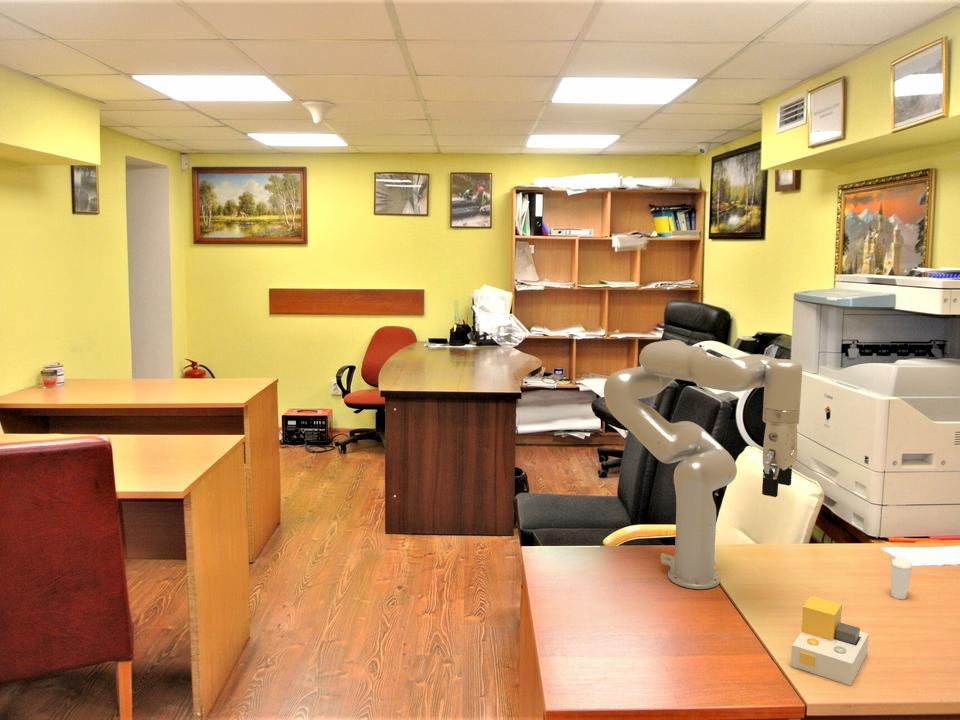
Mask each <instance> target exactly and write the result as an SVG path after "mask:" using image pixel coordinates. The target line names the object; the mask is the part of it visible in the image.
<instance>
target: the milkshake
mask: <svg viewBox="0 0 960 720" xmlns="http://www.w3.org/2000/svg"><path fill="white" fill-rule="evenodd" d="M889 560H890V595H891V597H892V598H894V599H896V600H897V599H898V600H906V599H907V598H908V592H909V588H910V581H911V575H912V571H913V563H912V562H910V561H909V560H908V559H904V558H903V557H902V558H901V557H895V558H893V559H892V557H891V556H889Z"/></svg>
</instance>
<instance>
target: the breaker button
mask: <svg viewBox="0 0 960 720" xmlns="http://www.w3.org/2000/svg"><path fill="white" fill-rule="evenodd" d="M860 631H861V628H860V627H858V626H855V625H851V624H847V623H843V622H841V623H840V624H839V626H838V628H837V629H836V639H835V640H838V641H842V642H845V643H849V644H852V645H855V646H856V645H857V644H858V642H859V634H860Z"/></svg>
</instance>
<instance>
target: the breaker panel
mask: <svg viewBox="0 0 960 720" xmlns="http://www.w3.org/2000/svg"><path fill="white" fill-rule="evenodd" d="M869 635H870V634H869V633H868V632H865V631H861V630H860V634H859V642H858V644H857V645H856V646H855V645H852V644H849V643H845V642H842V641H838V640H835V639H836V637H835V638H834V640H833V641H831V640H828V639H824V638H821V637H818V636H814V635H811V634H807V633H804V632H800V633H799V635H798V636H797V638H796V639H795V641H793V643H792V645H791V656H790V659H791V660H790V667H793V668H796V669H799V670H802V671H805V672H807V673H810V674H814V675H817V676H820V677H823V678H826V679H829V680H832V681H836V682H838V683H842V684H845V685H848V686H850V687H851V686H852V684H853V682H854V680H855V679H856V676H857V675H858V673H859V670H860V668H861V666H862V665H863V663H864V661H865V659H866V657H867V656H868V647H869V646H868V645H869Z"/></svg>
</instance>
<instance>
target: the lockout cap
mask: <svg viewBox="0 0 960 720" xmlns="http://www.w3.org/2000/svg"><path fill="white" fill-rule="evenodd" d="M842 607H843V604H842V603H840V602H836V601H833V600H828V599H826V598H825V599H824V598H822V597H821V598H820V597H819V596H815V595H814V596H813V595H811V596H809V598H808V599H807V600H806V602H804V605H803V606H802V616H801V617H802V618H801V632H804V633H807V634H811V635H814V636H818V637H821V638H824V639H828V640H831V641H833V640H834V638H835V637H836V629H837V628H838V626H839V624H840V623H842ZM801 632H800V633H801Z"/></svg>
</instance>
